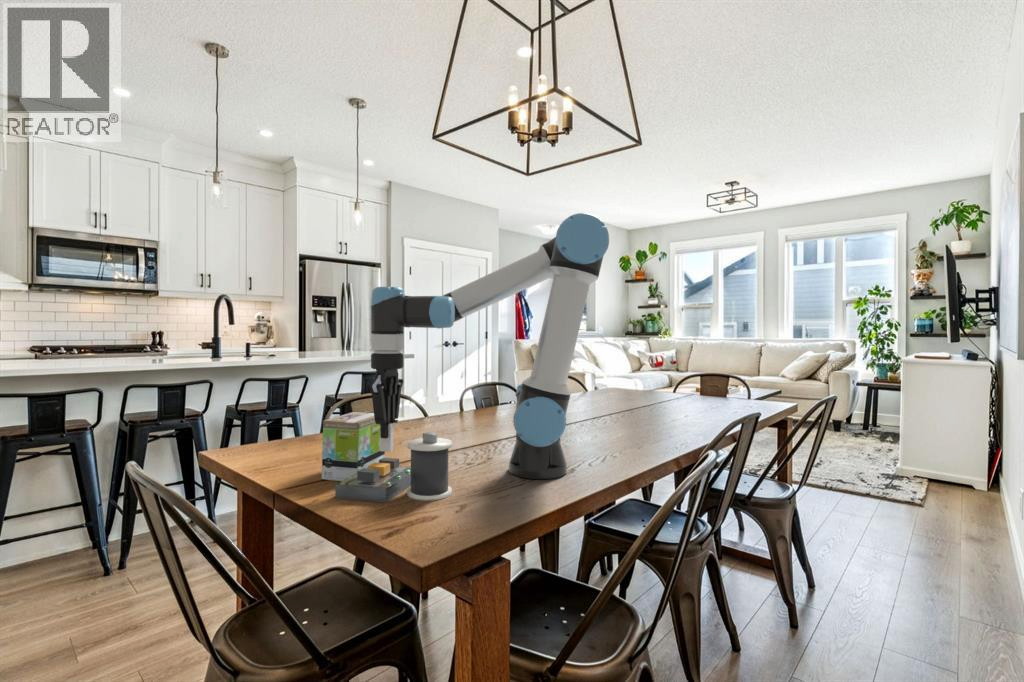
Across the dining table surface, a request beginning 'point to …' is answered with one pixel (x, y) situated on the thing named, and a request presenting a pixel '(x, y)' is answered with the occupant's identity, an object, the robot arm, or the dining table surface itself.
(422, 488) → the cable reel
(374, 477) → the paddle
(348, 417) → the tea box
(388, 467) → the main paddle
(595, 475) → the dining table surface
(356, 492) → the breaker strip
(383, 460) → the paddle
